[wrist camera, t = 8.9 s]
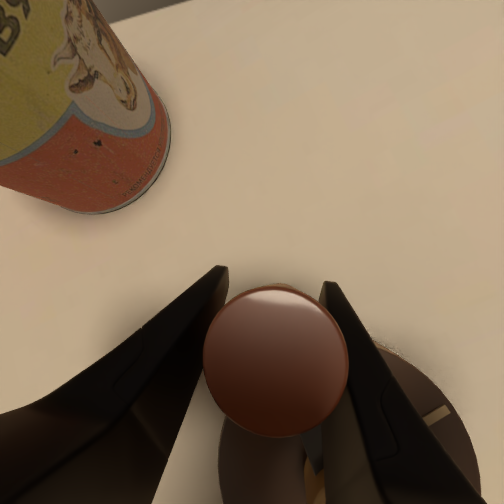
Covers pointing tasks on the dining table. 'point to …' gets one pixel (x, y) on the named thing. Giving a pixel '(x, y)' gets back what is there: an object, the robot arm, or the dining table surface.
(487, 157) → the dining table surface
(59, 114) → the canned food
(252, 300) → the crank handle
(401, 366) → the crank base
